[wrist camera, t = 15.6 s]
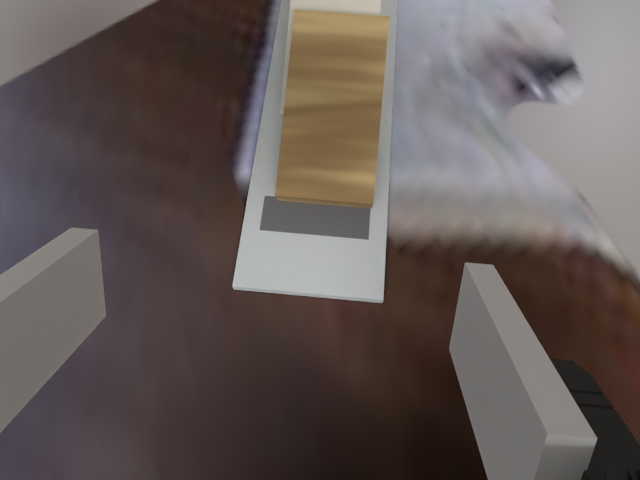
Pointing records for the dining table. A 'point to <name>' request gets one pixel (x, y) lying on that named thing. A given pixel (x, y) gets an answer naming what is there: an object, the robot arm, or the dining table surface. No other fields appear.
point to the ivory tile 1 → (353, 3)
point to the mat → (314, 208)
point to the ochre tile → (332, 109)
